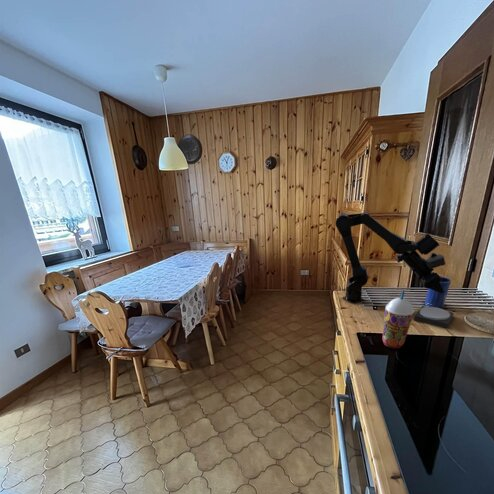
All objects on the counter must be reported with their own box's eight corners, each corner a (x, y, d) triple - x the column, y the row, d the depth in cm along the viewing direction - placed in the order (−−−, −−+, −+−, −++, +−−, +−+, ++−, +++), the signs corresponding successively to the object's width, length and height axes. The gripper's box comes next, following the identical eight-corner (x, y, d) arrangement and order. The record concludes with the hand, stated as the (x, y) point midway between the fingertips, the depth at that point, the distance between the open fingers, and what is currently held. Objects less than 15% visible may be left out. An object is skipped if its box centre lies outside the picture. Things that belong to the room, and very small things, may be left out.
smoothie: (379, 348, 96) (389, 294, 86) (379, 336, 102) (388, 284, 93) (407, 352, 93) (420, 297, 84) (404, 339, 99) (417, 286, 90)
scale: (413, 320, 111) (415, 313, 110) (421, 310, 118) (422, 304, 117) (446, 328, 104) (448, 321, 103) (452, 317, 112) (454, 310, 110)
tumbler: (421, 303, 124) (427, 278, 119) (431, 299, 126) (438, 275, 121) (436, 309, 118) (443, 283, 113) (447, 305, 120) (454, 280, 115)
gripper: (441, 255, 105) (467, 284, 107) (428, 243, 120) (451, 268, 122) (413, 274, 110) (438, 301, 112) (404, 260, 126) (426, 284, 128)
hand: (439, 288), depth 119 cm, fingers open, 9 cm apart
